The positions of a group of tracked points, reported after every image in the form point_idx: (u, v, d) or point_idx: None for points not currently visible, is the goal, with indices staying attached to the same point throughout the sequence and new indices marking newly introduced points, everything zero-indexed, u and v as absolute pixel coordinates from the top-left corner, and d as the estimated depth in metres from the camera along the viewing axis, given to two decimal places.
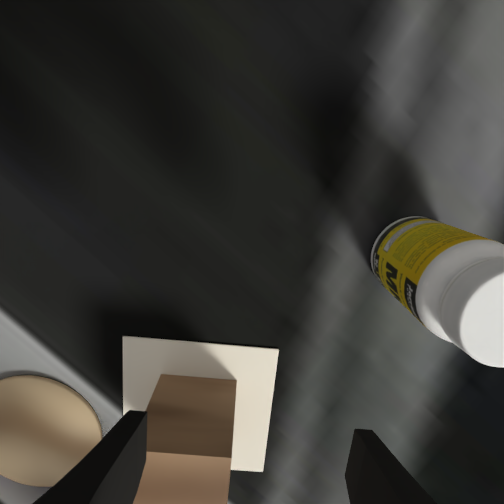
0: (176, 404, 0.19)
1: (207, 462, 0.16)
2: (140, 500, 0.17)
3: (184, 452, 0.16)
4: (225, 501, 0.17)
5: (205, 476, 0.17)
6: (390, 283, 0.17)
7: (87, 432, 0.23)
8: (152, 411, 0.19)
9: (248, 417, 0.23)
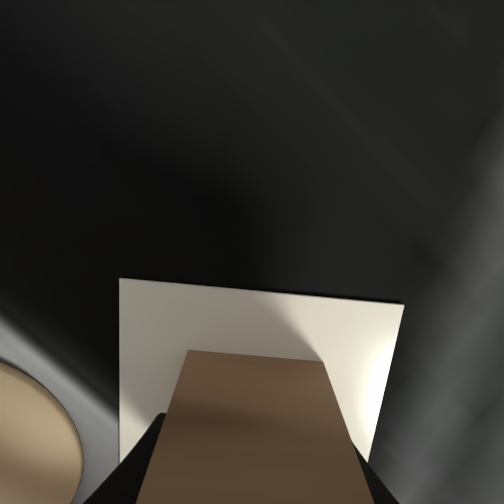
0: (226, 404, 0.10)
1: None
2: None
3: None
4: None
5: None
6: None
7: (56, 453, 0.13)
8: (179, 418, 0.09)
9: None
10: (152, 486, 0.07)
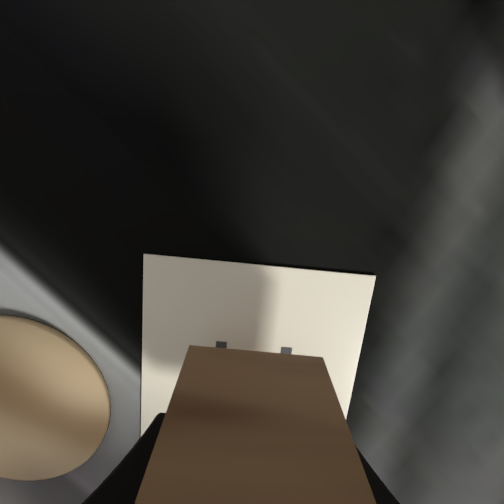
0: (227, 397, 0.10)
1: None
2: None
3: None
4: None
5: None
6: None
7: (89, 401, 0.16)
8: (181, 410, 0.09)
9: None
10: (155, 474, 0.07)
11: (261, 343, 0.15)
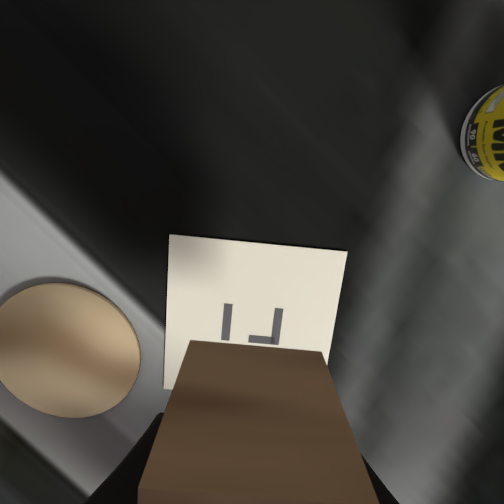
0: (227, 389, 0.10)
1: None
2: None
3: (268, 493, 0.07)
4: None
5: None
6: (500, 143, 0.14)
7: (124, 351, 0.20)
8: (183, 401, 0.09)
9: (308, 335, 0.20)
10: (158, 460, 0.07)
11: (259, 305, 0.20)
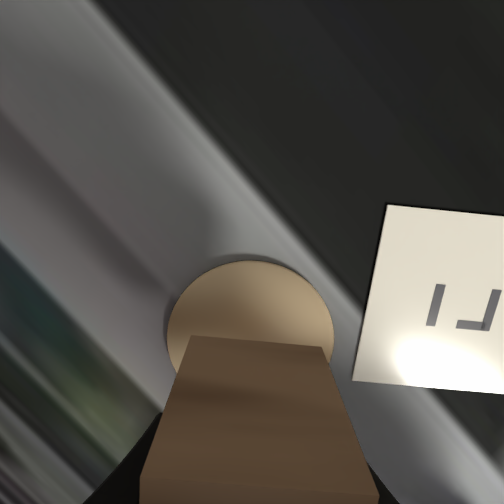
0: (228, 383, 0.10)
1: None
2: None
3: (268, 483, 0.07)
4: None
5: None
6: None
7: (319, 338, 0.18)
8: (184, 394, 0.09)
9: None
10: (159, 451, 0.08)
11: (474, 286, 0.18)
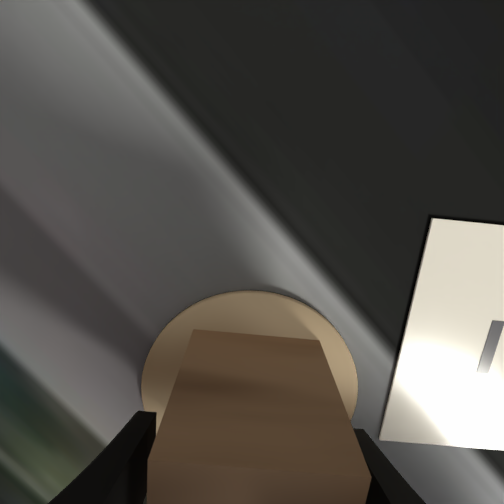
0: (229, 374, 0.11)
1: (318, 487, 0.08)
2: None
3: (268, 465, 0.08)
4: None
5: None
6: None
7: None
8: (187, 384, 0.10)
9: None
10: (165, 436, 0.08)
11: None
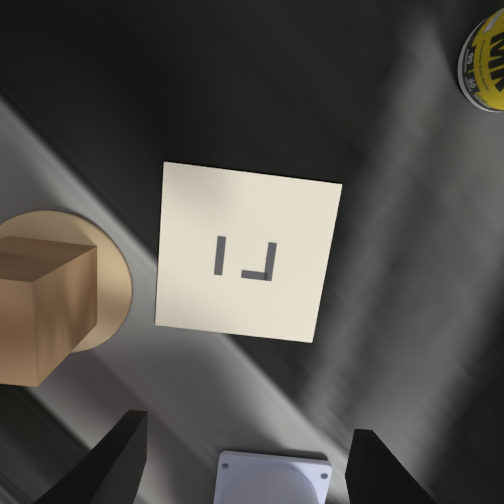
0: (4, 251, 0.17)
1: (4, 288, 0.14)
2: None
3: None
4: (32, 342, 0.14)
5: (4, 307, 0.14)
6: (497, 58, 0.14)
7: (116, 283, 0.20)
8: None
9: (301, 272, 0.20)
10: None
11: (253, 239, 0.20)
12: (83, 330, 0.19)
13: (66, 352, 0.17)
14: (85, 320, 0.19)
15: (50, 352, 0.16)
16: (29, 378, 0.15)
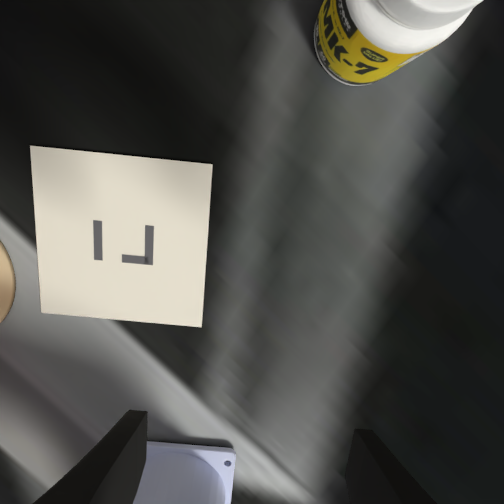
0: None
1: None
2: None
3: None
4: None
5: None
6: (327, 27, 0.14)
7: None
8: None
9: (182, 255, 0.20)
10: None
11: (130, 222, 0.20)
12: None
13: None
14: None
15: None
16: None
